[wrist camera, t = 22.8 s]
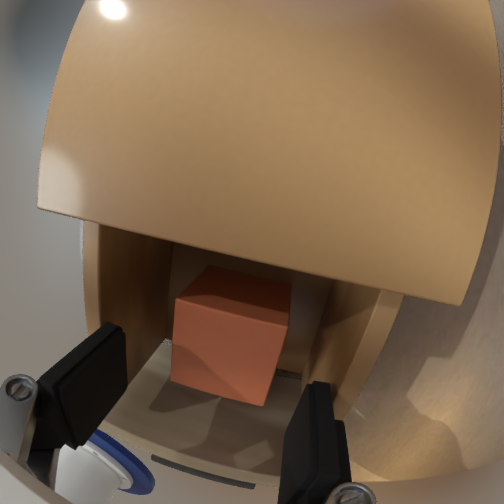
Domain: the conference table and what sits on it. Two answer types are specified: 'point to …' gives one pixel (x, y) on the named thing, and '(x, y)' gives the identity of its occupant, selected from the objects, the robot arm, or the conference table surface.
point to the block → (230, 334)
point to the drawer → (210, 405)
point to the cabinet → (286, 133)
